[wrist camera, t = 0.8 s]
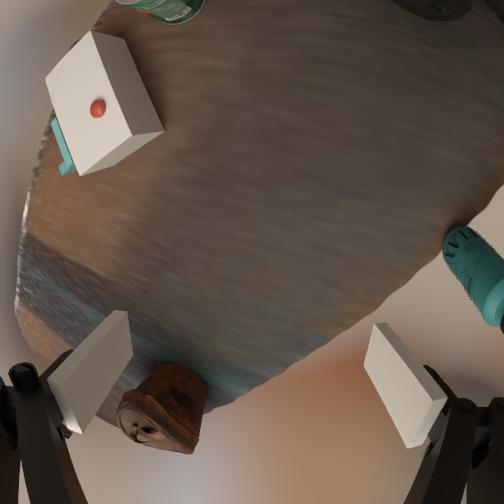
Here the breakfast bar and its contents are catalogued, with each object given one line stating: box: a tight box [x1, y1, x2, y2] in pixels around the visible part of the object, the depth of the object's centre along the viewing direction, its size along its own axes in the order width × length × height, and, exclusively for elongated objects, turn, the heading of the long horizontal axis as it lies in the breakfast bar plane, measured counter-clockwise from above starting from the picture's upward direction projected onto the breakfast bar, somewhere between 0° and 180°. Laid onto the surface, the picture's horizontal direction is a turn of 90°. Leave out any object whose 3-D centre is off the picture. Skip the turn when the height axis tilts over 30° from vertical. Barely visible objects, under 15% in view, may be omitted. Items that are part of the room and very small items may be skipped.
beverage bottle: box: [443, 226, 504, 334], centre depth 25 cm, size 6×7×20 cm
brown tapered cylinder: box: [116, 364, 207, 454], centre depth 52 cm, size 18×20×18 cm
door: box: [51, 118, 77, 175], centre depth 36 cm, size 4×8×8 cm, turn 25°
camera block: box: [45, 31, 165, 176], centre depth 32 cm, size 11×20×9 cm, turn 25°
